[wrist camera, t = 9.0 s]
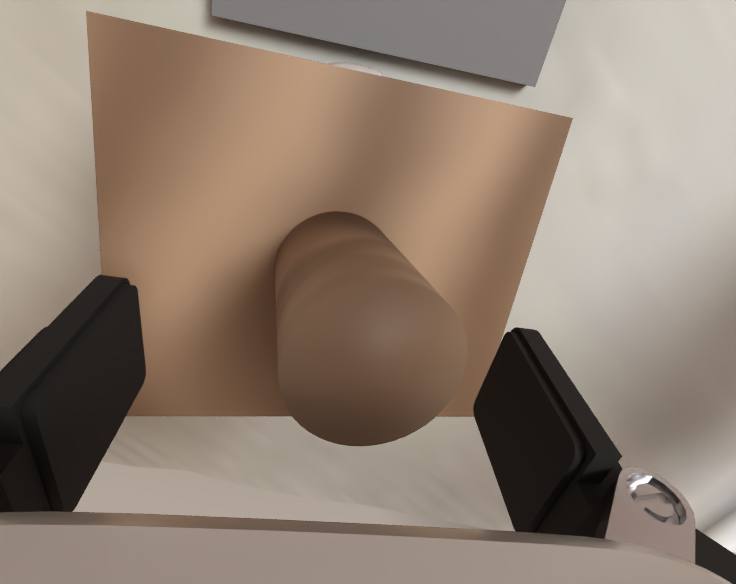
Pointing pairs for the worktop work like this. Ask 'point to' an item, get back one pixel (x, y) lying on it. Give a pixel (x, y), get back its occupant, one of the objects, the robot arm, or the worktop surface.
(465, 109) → the walnut lid
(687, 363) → the worktop surface
